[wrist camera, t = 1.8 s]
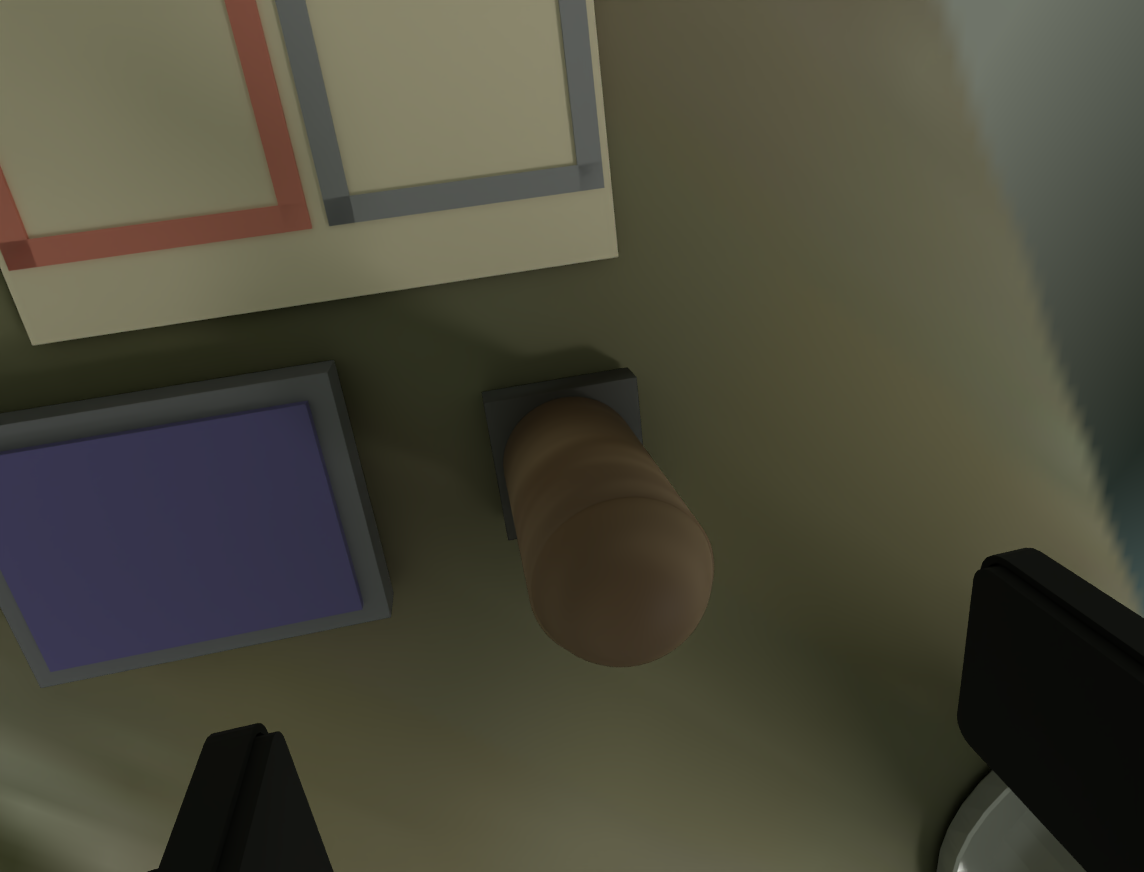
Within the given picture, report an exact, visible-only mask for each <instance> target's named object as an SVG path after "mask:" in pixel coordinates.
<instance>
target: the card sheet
mask: <svg viewBox="0 0 1144 872" xmlns="http://www.w3.org/2000/svg"><path fill="white" fill-rule="evenodd" d="M614 257H618V247H617V236H616V226H615V216H614V206H613V195H612V185H611V175H610V165H609V154H608V144H607V134H606V124H605V113H604V103H603V93H602V82H601V72H600V62H599V52H598V41H597V31H596V21H595V11H594V0H0V268H1V271H2V273H3V276H4V278H5V280H6V283H7V285H8V288H9V290H10V293H11V295H12V297H13V300H14V302H15V305H16V307H17V309H18V312H19V314H20V317H21V319H22V322H23V324H24V326H25V329H26V331H27V334H28V336H29V338H30V341H31V343H32V346H33V345H39V344H46V343H52V342H59V341H66V340H72V339H79V338H86V337H92V336H99V335H105V334H112V333H119V332H125V331H132V330H138V329H145V328H152V327H158V326H165V325H171V324H178V323H185V322H191V321H198V320H204V319H211V318H218V317H224V316H231V315H238V314H244V313H251V312H257V311H264V310H271V309H277V308H284V307H290V306H297V305H304V304H310V303H317V302H323V301H330V300H337V299H343V298H350V297H356V296H363V295H370V294H376V293H383V292H390V291H396V290H403V289H409V288H416V287H423V286H429V285H436V284H442V283H449V282H456V281H462V280H469V279H475V278H482V277H489V276H495V275H502V274H508V273H515V272H522V271H528V270H535V269H542V268H548V267H555V266H561V265H568V264H575V263H581V262H588V261H594V260H601V259H608V258H614Z"/></svg>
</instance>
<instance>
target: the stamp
mask: <svg viewBox="0 0 1144 872" xmlns="http://www.w3.org/2000/svg"><path fill="white" fill-rule="evenodd" d="M482 397H483V402H484V408H485V413H486V419H487V425H488V430H489V436H490V441H491V447H492V452H493V458H494V464H495V469H496V475H497V480H498V486H499V492H500V497H501V503H502V508H503V514H504V519H505V525H506V531H507V536H508V540H514V539H517V540H518V545H519V550H520V555H521V560H522V564H523V569H524V574H525V579H526V584H527V589H528V594H529V599H530V603H531V607H532V611H533V613H534V615H535V618H536V620H537V622H538V623H539V625H540V626H541V628H542V629H543V631H544V632H545V633H546V634H547V635H548V636H549V637H550V638H551V639H552V640H553V641H554V642H555V643H557V644H558V645H560V646H561V647H563V648H564V649H566V650H568V651H569V652H571V653H572V654H574V655H576V656H577V657H579V658H582V659H584V660H586V661H589V662H592V663H595V664H599V665H604V666H609V667H631V666H637V665H642V664H645V663H649V662H652V661H654V660H657V659H659V658H661V657H663V656H665V655H667V654H668V653H670V652H671V651H673V650H674V649H676V648H677V647H678V646H679V645H681V644H682V643H683V642H684V641H685V640H686V639H687V638H688V637H689V636H690V635H691V633H692V632H693V631H694V630H695V628H696V627H697V625H698V623H699V622H700V620H701V618H702V616H703V614H704V612H705V610H706V608H707V605H708V601H709V598H710V594H711V588H712V583H713V577H714V557H713V551H712V547H711V544H710V541H709V539H708V537H707V535H706V533H705V531H704V530H703V528H702V527H701V525H700V524H699V522H698V521H697V520H696V518H695V517H694V515H693V514H692V513H691V511H690V510H689V508H688V507H687V506H686V504H685V503H684V502H683V500H682V499H681V497H680V496H679V495H678V493H677V492H676V491H675V489H674V488H673V486H672V485H671V484H670V482H669V481H668V480H667V478H666V477H665V475H664V474H663V473H662V471H661V470H660V468H659V467H658V466H657V464H656V463H655V462H654V460H653V459H652V457H651V456H650V455H649V453H648V452H647V451H646V449H645V448H644V446H643V441H642V430H641V420H640V409H639V398H638V388H637V377H636V376H635V375H634V374H633V373H632V372H631V371H630V370H629V369H628V368H621V369H615V370H609V371H603V372H597V373H591V374H586V375H580V376H574V377H568V378H562V379H556V380H550V381H544V382H538V383H532V384H526V385H521V386H515V387H509V388H503V389H497V390H491V391H485V392H482Z"/></svg>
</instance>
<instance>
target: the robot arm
mask: <svg viewBox="0 0 1144 872" xmlns="http://www.w3.org/2000/svg"><path fill="white" fill-rule="evenodd" d="M957 720H958V725H959V728H960V730H961V733H962V735H963V737H964V738H965V740H966V741H967V743H968V744H969V745H970V746H971V747H972V748H973V749H974V751H975V752H976V753H977V754H978V755H979V756H980V757H981V758H982V759H983V760H984V761H985V762H986V764H987V765H988V766H989V767H990V768H991V769H992V771H991V772H990V773H989V774H988V775H987V776H986V777H985V778H984V779H982V780H981V781H980V782H979V784H978V785H977V786H976V787H975V789H974V790H973V791H972V792H971V794H970V795H969V796H968V797H967V798H966V800H965V801H964V802H963V803H962V805H961V807H960V808H959V810H958V812H957V813H956V815H955V817H954V818H953V820H952V822H951V824H950V825H949V827H948V830H947V832H946V835H945V838H944V840H943V843H942V846H941V848H940V853H939V859H938V866H937V872H1144V618H1142V617H1141V616H1139V615H1138V614H1136V613H1135V612H1133V611H1132V610H1130V609H1129V608H1127V607H1125V606H1124V605H1122V604H1121V603H1119V602H1118V601H1116V600H1115V599H1113V598H1112V597H1110V596H1108V595H1107V594H1105V593H1104V592H1102V591H1101V590H1099V589H1098V588H1096V587H1095V586H1093V585H1091V584H1090V583H1088V582H1087V581H1085V580H1084V579H1082V578H1081V577H1079V576H1077V575H1076V574H1074V573H1073V572H1071V571H1070V570H1068V569H1067V568H1065V567H1064V566H1062V565H1060V564H1059V563H1057V562H1056V561H1054V560H1053V559H1051V558H1050V557H1048V556H1047V555H1045V554H1043V553H1042V552H1040V551H1038V550H1036V549H1034V548H1023V549H1018V550H1014V551H1010V552H1005V553H1001V554H996V555H992V556H989V557H987V558H986V559H985V560H984V561H983V563H982V566H981V569H980V570H978V571H977V572H976V573H975V576H974V579H973V587H972V595H971V604H970V612H969V621H968V629H967V637H966V646H965V654H964V662H963V671H962V679H961V687H960V696H959V704H958V712H957ZM148 872H333V869H332V866H331V864H330V861H329V858H328V855H327V853H326V850H325V847H324V845H323V842H322V839H321V836H320V834H319V831H318V828H317V825H316V823H315V820H314V817H313V815H312V812H311V809H310V806H309V804H308V801H307V798H306V795H305V793H304V790H303V787H302V785H301V782H300V779H299V776H298V774H297V771H296V768H295V766H294V763H293V760H292V757H291V755H290V752H289V749H288V746H287V744H286V741H285V739H284V736H283V734H282V733H281V732H273V733H269V734H268V732H267V730H266V728H265V726H264V725H263V724H262V723H257V724H252V725H248V726H244V727H239V728H235V729H230V730H226V731H222V732H217V733H213V734H211V735H210V736H209V737H207V739H206V741H205V743H204V746H203V748H202V751H201V754H200V756H199V759H198V762H197V765H196V767H195V770H194V773H193V776H192V778H191V781H190V784H189V786H188V789H187V792H186V795H185V797H184V800H183V803H182V805H181V808H180V811H179V814H178V816H177V819H176V822H175V825H174V827H173V830H172V833H171V835H170V838H169V841H168V844H167V846H166V849H165V852H164V855H163V857H162V860H161V863H160V865H159V868H158V869H154V870H151V871H148Z"/></svg>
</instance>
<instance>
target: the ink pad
mask: <svg viewBox="0 0 1144 872" xmlns="http://www.w3.org/2000/svg"><path fill="white" fill-rule="evenodd" d="M393 594H394V592H393V589H392V585H391V581H390V577H389V573H388V569H387V565H386V561H385V557H384V553H383V549H382V545H381V541H380V538H379V534H378V530H377V526H376V522H375V518H374V514H373V510H372V506H371V502H370V498H369V494H368V490H367V487H366V483H365V479H364V475H363V471H362V467H361V463H360V459H359V455H358V451H357V447H356V443H355V439H354V436H353V432H352V428H351V424H350V420H349V416H348V412H347V408H346V404H345V400H344V396H343V392H342V389H341V385H340V381H339V377H338V373H337V369H336V365H335V361H334V360H330V361H324V362H318V363H311V364H305V365H299V366H293V367H286V368H280V369H274V370H268V371H262V372H255V373H249V374H243V375H237V376H230V377H224V378H218V379H212V380H206V381H199V382H193V383H187V384H181V385H174V386H168V387H162V388H156V389H150V390H143V391H137V392H131V393H125V394H118V395H112V396H106V397H100V398H94V399H87V400H81V401H75V402H69V403H62V404H56V405H50V406H44V407H37V408H31V409H25V410H19V411H13V412H6V413H0V608H1V610H2V612H3V614H4V616H5V618H6V620H7V622H8V624H9V626H10V628H11V630H12V632H13V634H14V636H15V638H16V640H17V642H18V644H19V646H20V648H21V650H22V652H23V654H24V656H25V658H26V660H27V662H28V664H29V666H30V668H31V670H32V672H33V674H34V676H35V678H36V680H37V682H38V684H39V686H40V688H44V687H49V686H53V685H58V684H63V683H68V682H73V681H78V680H83V679H88V678H93V677H98V676H103V675H108V674H113V673H118V672H123V671H127V670H132V669H137V668H142V667H147V666H152V665H157V664H162V663H167V662H172V661H177V660H182V659H187V658H192V657H197V656H202V655H206V654H211V653H216V652H221V651H226V650H231V649H236V648H241V647H246V646H251V645H256V644H261V643H266V642H271V641H276V640H281V639H285V638H290V637H295V636H300V635H305V634H310V633H315V632H320V631H325V630H330V629H335V628H340V627H345V626H350V625H355V624H359V623H364V622H369V621H374V620H379V619H384V618H389V617H391V612H392V603H393Z"/></svg>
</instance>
